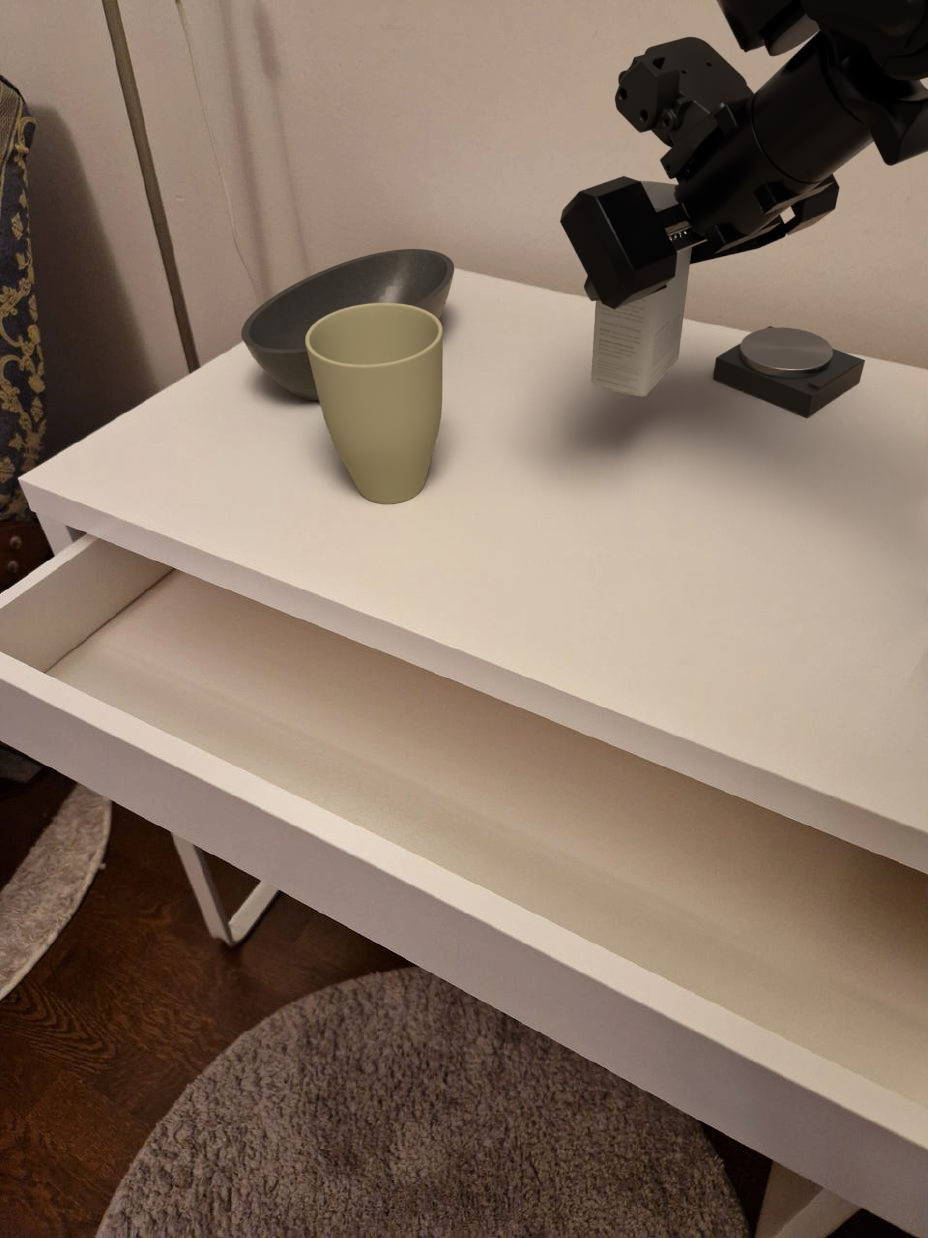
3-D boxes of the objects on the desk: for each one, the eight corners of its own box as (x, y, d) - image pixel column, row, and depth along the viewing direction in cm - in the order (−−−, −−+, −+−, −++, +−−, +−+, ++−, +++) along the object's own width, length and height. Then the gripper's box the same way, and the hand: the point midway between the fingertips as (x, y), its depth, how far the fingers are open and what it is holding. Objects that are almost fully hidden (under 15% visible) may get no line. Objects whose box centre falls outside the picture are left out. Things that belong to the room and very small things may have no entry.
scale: (859, 382, 79) (868, 350, 77) (807, 418, 75) (814, 386, 74) (765, 346, 84) (771, 316, 82) (712, 379, 80) (717, 348, 79)
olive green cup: (484, 470, 72) (479, 318, 64) (395, 537, 67) (377, 380, 59) (377, 425, 77) (360, 279, 69) (286, 483, 72) (256, 332, 64)
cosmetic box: (624, 349, 70) (635, 175, 62) (682, 362, 69) (702, 184, 61) (587, 387, 67) (594, 207, 59) (648, 402, 65) (664, 218, 57)
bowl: (220, 397, 82) (204, 329, 78) (393, 301, 94) (386, 237, 90) (322, 442, 76) (310, 370, 72) (492, 333, 88) (490, 266, 84)
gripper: (837, -39, 54) (670, 134, 68) (590, 21, 46) (459, 203, 60) (927, 143, 54) (743, 277, 68) (699, 235, 46) (544, 365, 60)
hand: (628, 277), depth 64 cm, fingers closed on cosmetic box, 7 cm apart
